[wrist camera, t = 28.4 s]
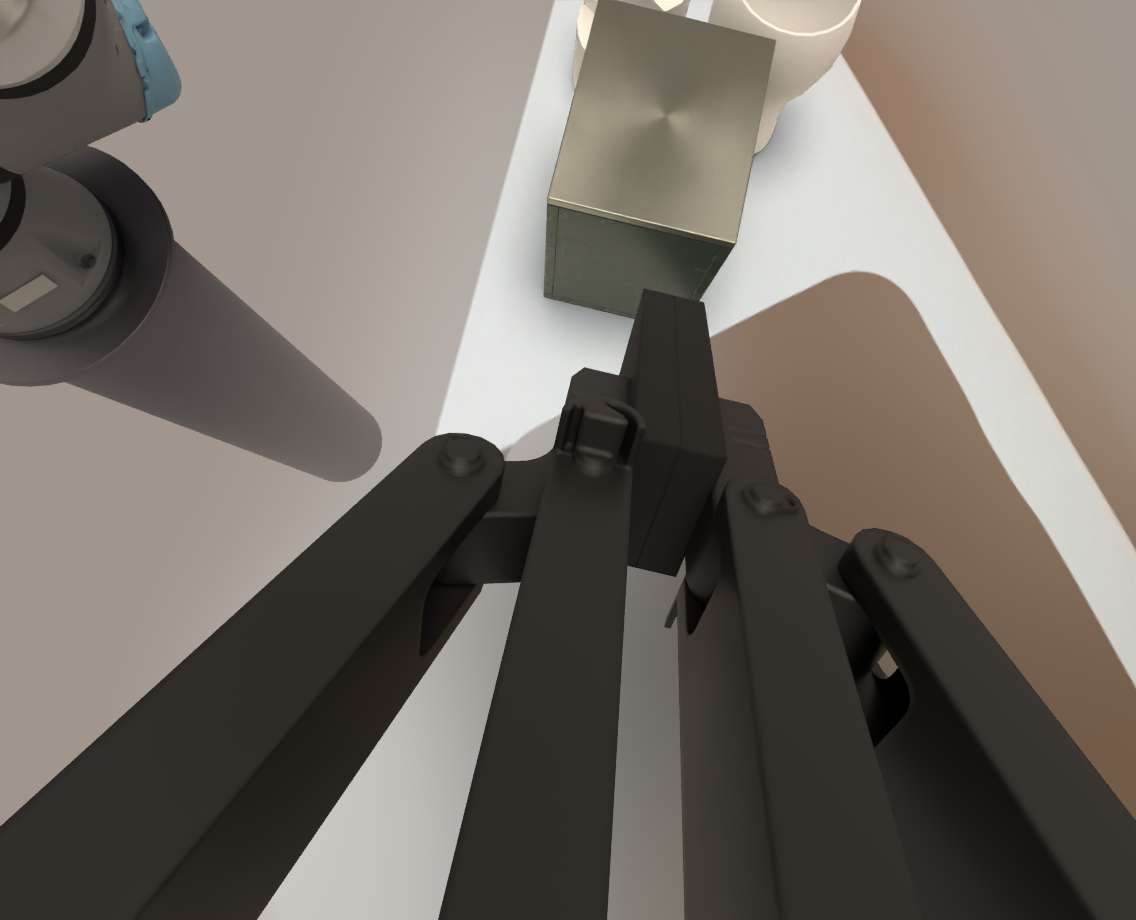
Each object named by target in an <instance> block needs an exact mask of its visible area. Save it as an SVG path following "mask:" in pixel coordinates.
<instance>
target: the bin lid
mask: <svg viewBox="0 0 1136 920" xmlns="http://www.w3.org/2000/svg"><path fill="white" fill-rule="evenodd" d="M775 45H776V40H774V39H770V38H766V37H762V36H758V35H754V34H750V33H746V32H742V31H738V30H734V29H730V28H726V27H722V26H718V25H714V24H710V23H706V22H702V21H698V20H694V19H690V18H686V17H682V16H678V15H674V14H670V13H666V12H662V11H658V10H654V9H650V8H646V7H642V6H638V5H634V4H630V3H626V2H622V1H618V0H598V3H597V7H596V10H595V14H594V18H593V22H592V26H591V30H590V34H589V38H588V42H587V46H586V49H585V53H584V57H583V61H582V65H581V69H580V73H579V77H578V81H577V84H576V88H575V92H574V96H573V100H572V104H571V108H570V112H569V116H568V120H567V123H566V127H565V131H564V135H563V139H562V143H561V147H560V151H559V155H558V159H557V162H556V166H555V170H554V174H553V178H552V182H551V186H550V190H549V194H548V197H547V203H548V204H551V205H555V206H559V207H563V208H568V209H572V210H576V211H580V212H584V213H588V214H592V215H596V216H601V217H605V218H609V219H613V220H617V221H621V222H625V223H629V224H633V225H638V226H642V227H646V228H650V229H654V230H658V231H662V232H666V233H671V234H675V235H679V236H683V237H687V238H691V239H695V240H699V241H704V242H708V243H712V244H716V245H720V246H724V247H728V248H734V246H735V244H736V242H737V237H738V232H739V227H740V222H741V217H742V212H743V206H744V201H745V196H746V191H747V186H748V181H749V176H750V171H751V166H752V161H753V156H754V151H755V146H756V141H757V136H758V131H759V126H760V121H761V116H762V111H763V106H764V101H765V96H766V91H767V86H768V80H769V75H770V70H771V65H772V60H773V55H774V50H775Z"/></svg>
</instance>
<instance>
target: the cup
mask: <svg viewBox="0 0 1136 920" xmlns="http://www.w3.org/2000/svg"><path fill="white" fill-rule="evenodd" d="M860 3H861V0H714V1H713V4H712V7H711V11H710V15H709V19H708V23H710V24H714V25H718V26H722V27H726V28H730V29H734V30H738V31H742V32H746V33H750V34H754V35H758V36H762V37H766V38H770V39H774V40H776V45H775V50H774V55H773V60H772V65H771V70H770V75H769V80H768V86H767V91H766V96H765V101H764V106H763V111H762V116H761V121H760V126H759V131H758V136H757V141H756V146H755V151H754V154H756V153H758V152H760V151H761V150H762V149H763V148H764V147H765V146H766V145H767V143H768V141H769V140H770V138H771V136H772V133H773V131H774V128H775V125H776V122H777V119H778V115H779V112H780V110H781V109H782V108H783V106H784V105H785V104H786V103H787V102H788V101H790V100H792V99H794V98H796V97H798V96H800V95H802V94H803V93H804V92H805V91H806V90H808V89H809V88H810V87H811V86H812V85H813V84H814V83H816V82H817V81H818V80H819V79H820V78H821V77H822V76H823V75H824V74H825V73H826V72H827V71H828V70H829V69H830V68H831V67H832V65H833V63H834V62H835V60H836V59H837V57H838V55H839V54H840V52H841V50H842V49H843V47H844V45H845V44H846V42H847V40H848V38H849V36H850V35H851V31H852V28H853V25H854V22H855V19H856V15H857V12H858V9H859V6H860Z"/></svg>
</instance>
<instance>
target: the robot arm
mask: <svg viewBox="0 0 1136 920" xmlns="http://www.w3.org/2000/svg"><path fill="white" fill-rule="evenodd" d="M180 93H181V81H180V77H179V74H178V72H177V70H176V68H175V66H174V64H173V62H172V60H171V58H170V56H169V55H168V52H167V51H166V49H165V47H164V45H163V43H162V42H161V40H160V38H159V36H158V35H157V33H156V31H155V30H154V28H153V26H152V25H151V24H150V23H149V20H148V17H147V16H146V14H145V12H144V11H143V9H142V7H141V5H140V3H139V1H138V0H0V337H3V338H9V339H18V340H29V339H38V338H44V337H48V336H52V335H56V334H58V333H61V332H64V331H66V330H68V329H70V328H72V327H74V326H76V325H78V324H79V323H81V322H82V321H84V320H85V319H87V318H88V317H89V316H90V315H92V314H93V313H94V312H95V311H96V310H97V309H98V308H99V307H100V306H101V305H102V304H103V302H104V301H105V300H106V299H107V297H108V296H109V294H110V293H111V291H112V289H113V288H114V286H115V284H116V281H117V279H118V277H119V274H120V270H121V266H122V261H123V241H122V236H121V231H120V228H119V226H118V223H117V221H116V219H115V217H114V215H113V214H112V212H111V211H110V209H109V208H108V207H107V206H106V204H105V203H104V202H103V201H102V200H101V199H100V198H98V197H97V196H96V195H95V194H94V193H92V192H91V191H90V190H89V189H88V188H86V187H85V186H84V185H82V184H81V183H79V182H78V181H76V180H74V179H72V178H71V177H69V176H67V175H65V174H63V173H61V172H59V171H56V170H54V169H51V168H47V167H45V166H42V165H45V164H47V163H49V162H51V161H53V160H56V159H58V158H60V157H62V156H64V155H66V154H69V153H71V152H73V151H75V150H77V149H79V148H82V147H84V146H86V145H88V144H90V143H92V142H95V141H97V140H99V139H101V138H103V137H105V136H108V135H110V134H112V133H114V132H116V131H119V130H121V129H123V128H125V127H127V126H129V125H132V124H133V123H136V122H140V123H142V122H146V121H149V120H150V119H151V117H152V115H153V114H154V113H156V112H158V111H159V110H161V109H163V108H165V107H167V106H169V105H171V104H173V103H174V102H175V101H176V100H177V99H178V98H179V96H180ZM684 557H685V561H686V575H685V578H684V580H683V582H682V584H681V587H680V589H679V591H678V593H677V596H676V598H675V600H674V602H673V605H672V607H671V609H670V611H669V614H668V616H667V618H666V622H665V627H666V628H671V626H672V624H673V621H674V619H675V618H676V617H677V624H678V665H679V705H680V706H679V707H680V748H681V789H682V831H683V872H684V911H685V912H684V914H685V920H1136V820H1135V819H1134V818H1133V817H1132V815H1131V814H1130V813H1129V811H1128V810H1127V809H1126V808H1125V806H1124V805H1123V804H1122V802H1121V801H1120V800H1119V799H1118V798H1117V796H1116V795H1115V793H1114V792H1113V791H1112V789H1111V788H1110V787H1109V786H1108V784H1107V783H1106V782H1105V780H1104V779H1103V778H1102V777H1101V775H1100V774H1099V773H1098V771H1097V770H1096V769H1095V768H1094V766H1093V765H1092V764H1091V762H1090V761H1089V760H1088V759H1087V757H1086V756H1085V755H1084V753H1083V752H1082V751H1081V750H1080V748H1079V747H1078V746H1077V744H1076V743H1075V742H1074V741H1073V739H1072V738H1071V737H1070V735H1069V734H1068V733H1067V731H1066V730H1065V729H1064V728H1063V726H1062V725H1061V724H1060V722H1059V721H1058V720H1057V719H1056V717H1055V716H1054V715H1053V713H1052V712H1051V711H1050V710H1049V708H1048V707H1047V706H1046V704H1045V703H1044V702H1043V701H1042V699H1041V698H1040V697H1039V695H1038V694H1037V693H1036V692H1035V690H1034V689H1033V688H1032V686H1031V685H1030V684H1029V683H1028V681H1027V680H1026V679H1025V677H1024V676H1023V675H1022V673H1021V672H1020V671H1019V670H1018V668H1017V667H1016V666H1015V664H1014V663H1013V662H1012V661H1011V659H1010V658H1009V657H1008V655H1007V654H1006V653H1005V652H1004V650H1003V649H1002V648H1001V647H1000V645H999V644H998V643H997V641H996V640H995V639H994V638H993V636H992V635H991V634H990V632H989V631H988V630H987V628H986V627H985V626H984V625H983V623H982V622H981V621H980V620H979V618H978V617H977V616H976V614H975V613H974V612H973V610H972V609H971V608H970V607H969V605H968V604H967V603H966V601H965V600H964V599H963V597H962V596H961V595H960V594H959V592H958V591H957V590H956V588H955V587H954V586H953V585H952V583H951V582H950V581H949V579H948V578H947V577H946V576H945V574H944V573H943V572H942V570H941V569H940V568H939V567H938V565H937V564H936V563H935V561H934V560H933V559H932V558H931V557H930V556H929V555H928V554H927V553H926V552H925V551H924V550H923V549H922V548H920V547H919V546H917V545H916V544H914V543H913V542H911V541H910V540H909V539H908V538H906V537H904V536H902V535H901V536H900V535H899V534H897V533H893V532H891V531H886V530H882V529H877V528H872V529H863V530H861V531H860V532H859V533H857V534H856V535H855V536H854V538H853V540H852V541H851V543H850V544H849V543H847V542H845V541H842V540H840V539H838V538H836V537H833V536H831V535H829V534H827V533H825V532H822V531H820V530H819V529H816V528H815V527H813V526H811V525H809V523H808V519H807V516H806V512H805V509H804V508H803V506H802V504H801V502H800V500H799V499H798V498H797V497H796V496H795V495H794V494H793V493H792V492H791V491H790V490H788V489H787V488H785V487H784V486H782V485H780V484H779V483H778V479H777V475H776V471H775V467H774V463H773V459H772V456H771V451H770V450H769V443H768V439H767V438H766V431H765V428H764V423H763V420H762V419H761V418H760V416H759V415H758V414H757V413H756V412H755V411H754V409H753V408H752V407H751V406H750V405H748V404H744V403H739V402H735V401H731V400H727V399H723V398H719V397H718V390H717V384H716V377H715V370H714V364H713V357H712V351H711V344H710V338H709V331H708V325H707V318H706V312H705V305H704V303H703V302H699V301H695V300H691V299H687V298H683V297H678V296H674V295H670V294H666V293H662V292H658V291H653V290H649V289H645V288H644V289H643V292H642V296H641V299H640V303H639V307H638V310H637V314H636V317H635V321H634V324H633V328H632V331H631V335H630V339H629V342H628V346H627V349H626V353H625V356H624V360H623V363H622V367H621V371H620V374H619V376H618V375H614V374H610V373H606V372H602V371H597V370H593V369H589V368H585V367H584V368H583V369H582V370H580V371H579V372H578V373H576V374H575V375H574V376H572V378H571V382H570V386H569V390H568V394H567V398H566V403H565V405H564V407H563V409H562V413H561V418H560V422H559V426H558V431H557V435H556V440H555V444H554V447H553V449H552V450H551V451H550V452H548V453H547V454H546V455H544V456H542V457H539V458H537V459H533V460H528V461H504V457H503V454H502V453H501V452H500V450H499V449H498V448H497V447H496V446H495V445H494V444H492V443H490V442H489V441H487V440H485V439H483V438H481V437H477V436H473V435H470V434H464V433H448V434H443V435H438V436H434V437H433V438H431V439H429V440H427V441H426V442H424V443H423V444H422V445H421V446H420V447H418V448H417V449H416V450H415V451H414V452H413V453H412V454H411V455H409V456H408V457H407V458H406V459H405V460H404V461H403V462H402V463H401V464H400V465H398V466H397V467H396V468H395V469H394V470H393V471H392V472H391V473H390V474H388V476H386V477H385V478H384V479H383V480H382V481H381V482H380V483H379V484H378V485H376V486H375V487H374V488H373V489H372V490H371V491H370V492H369V493H368V494H366V496H364V497H363V498H362V499H361V500H360V501H359V502H358V503H357V504H355V505H354V506H353V507H352V508H351V509H350V510H349V511H348V512H347V513H346V514H344V515H343V516H342V517H341V518H340V519H339V520H338V521H337V522H336V523H334V524H333V525H332V526H331V527H330V528H329V529H328V530H327V531H326V532H325V533H323V535H321V536H320V537H319V538H318V539H317V540H316V541H315V542H314V543H312V544H311V545H310V546H309V547H308V548H307V549H306V550H305V551H304V552H302V553H301V554H300V555H299V556H298V557H297V558H296V559H295V560H294V561H293V562H292V563H290V564H289V565H288V566H287V567H286V568H285V569H284V570H283V571H282V572H280V573H279V574H278V575H277V576H276V577H275V578H274V579H273V580H272V581H270V582H269V583H268V584H267V585H266V586H265V587H264V588H263V589H262V590H261V591H259V592H258V593H257V594H256V595H255V596H254V597H253V598H252V599H251V600H250V601H249V602H247V603H246V604H245V605H244V606H243V607H242V608H241V609H240V610H238V611H237V612H236V613H235V614H234V615H233V616H232V617H231V618H230V619H229V620H227V621H226V622H225V623H224V624H223V625H222V626H221V627H220V628H219V629H218V630H216V631H215V632H214V633H213V634H212V635H211V636H210V637H209V638H208V639H207V640H205V641H204V642H203V643H202V644H201V645H200V646H199V647H198V648H197V649H196V650H194V651H193V652H192V653H191V654H190V655H189V656H188V657H187V658H186V659H184V660H183V661H182V662H181V663H180V664H179V665H178V666H177V667H176V668H175V669H173V670H172V671H171V672H170V673H169V674H168V675H167V676H166V677H165V678H164V679H162V680H161V681H160V682H159V683H158V684H157V685H156V686H155V687H154V688H153V689H151V690H150V691H149V692H148V693H147V694H146V695H145V696H144V697H143V698H141V700H139V701H138V702H137V703H136V704H135V705H134V706H133V707H132V708H131V709H129V710H128V711H127V712H126V713H125V714H124V715H123V716H122V717H121V718H119V719H118V720H117V721H116V722H115V723H114V724H113V725H112V726H111V727H109V728H108V729H107V730H106V731H105V732H104V733H103V734H102V735H101V736H100V737H98V738H97V739H96V740H95V741H94V742H93V743H92V744H91V745H90V746H89V747H87V748H86V749H85V750H84V751H83V752H82V753H81V754H80V755H79V756H78V757H76V758H75V759H74V760H73V761H72V762H71V763H70V764H69V765H68V766H66V767H65V768H64V769H63V770H62V771H61V772H60V773H59V774H58V775H57V776H55V777H54V778H53V779H52V780H51V781H50V782H49V783H48V784H47V785H46V786H44V787H43V788H42V789H41V790H40V791H39V792H38V793H37V794H36V795H35V796H33V797H32V798H31V799H30V800H29V801H28V802H27V803H26V804H25V805H23V807H21V808H20V809H19V810H18V811H17V812H16V813H15V814H14V815H13V816H12V817H10V818H9V819H8V820H7V821H6V822H5V823H4V824H3V825H1V826H0V920H257V919H258V917H259V916H260V914H261V913H262V911H263V910H264V908H265V907H266V905H267V904H268V902H269V901H270V900H271V898H272V896H273V895H274V894H275V892H276V891H277V889H278V888H279V886H280V885H281V884H282V882H283V881H284V879H285V878H286V876H287V875H288V873H289V872H290V870H291V869H292V867H293V866H294V864H295V863H296V862H297V860H298V859H299V857H300V856H301V854H302V853H303V851H304V850H305V848H306V847H307V845H308V844H309V842H310V841H311V840H312V838H313V837H314V835H315V834H316V832H317V831H318V829H319V828H320V826H321V825H322V823H323V822H324V821H325V819H326V818H327V816H328V815H329V813H330V812H331V810H332V809H333V807H334V806H335V804H336V803H337V802H338V800H339V799H340V797H341V796H342V794H343V793H344V791H345V790H346V788H347V787H348V785H349V784H350V782H351V781H352V780H353V778H354V777H355V775H356V774H357V772H358V771H359V769H360V768H361V766H362V765H363V763H364V762H365V761H366V759H367V758H368V756H369V755H370V753H371V752H372V750H373V749H374V747H375V746H376V744H377V743H378V741H379V740H380V739H381V737H382V736H383V734H384V733H385V731H386V730H387V728H388V727H389V725H390V724H391V722H392V721H393V720H394V718H395V716H396V715H397V714H398V712H399V711H400V709H401V708H402V706H403V705H404V703H405V702H406V700H407V699H408V698H409V696H410V695H411V693H412V692H413V690H414V689H415V687H416V686H417V684H418V683H419V681H420V680H421V679H422V677H423V675H424V674H425V673H426V671H427V670H428V668H429V667H430V665H431V664H432V662H433V661H434V659H435V658H436V657H437V655H438V654H439V652H440V651H441V649H442V648H443V646H444V645H445V643H446V642H447V640H448V639H449V638H450V636H451V635H452V633H453V632H454V630H455V628H456V627H457V626H458V624H459V623H460V621H461V620H462V618H463V617H464V616H465V614H466V613H467V611H468V610H469V608H470V607H471V605H472V604H473V602H474V601H475V599H476V598H477V596H478V595H479V594H480V592H481V590H482V587H483V584H486V583H487V584H488V583H514V582H521V583H520V588H519V591H518V596H517V600H516V604H515V608H514V612H513V616H512V620H511V624H510V628H509V633H508V636H507V640H506V645H505V649H504V653H503V657H502V661H501V665H500V669H499V673H498V677H497V681H496V686H495V690H494V694H493V698H492V702H491V706H490V710H489V714H488V718H487V722H486V726H485V731H484V734H483V739H482V743H481V747H480V751H479V755H478V759H477V764H476V767H475V771H474V775H473V779H472V783H471V788H470V792H469V796H468V800H467V804H466V808H465V812H464V816H463V820H462V824H461V828H460V833H459V837H458V841H457V845H456V849H455V853H454V857H453V861H452V865H451V869H450V873H449V877H448V881H447V886H446V890H445V894H444V898H443V902H442V906H441V910H440V914H439V918H438V920H607V911H608V910H607V909H608V893H609V876H610V875H609V874H610V858H611V841H612V824H613V806H614V789H615V788H614V787H615V771H616V754H617V753H616V752H617V736H618V719H619V701H620V684H621V683H620V682H621V666H622V649H623V632H624V614H625V596H626V580H627V566H631V567H635V568H640V569H644V570H648V571H652V572H657V573H661V574H665V575H670V576H674V577H676V575H677V573H678V571H679V569H680V566H681V564H682V562H683V559H684ZM887 650H888V652H889V653H890V655H891V657H892V658H893V660H894V661H895V663H896V665H897V666H898V669H897V670H896V671H895V672H894V673H893V674H892V675H891V676H890V677H888V676H886V674H885V673H884V672H883V671H882V669H881V668H880V666H879V664H878V661H879V660H880V658H881V657H882V656H883V655H884V653H885V652H886V651H887Z"/></svg>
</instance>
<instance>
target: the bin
mask: <svg viewBox="0 0 1136 920" xmlns="http://www.w3.org/2000/svg"><path fill="white" fill-rule="evenodd" d="M732 249H733V248H728V247H724V246H720V245H716V244H712V243H708V242H704V241H699V240H695V239H691V238H687V237H683V236H679V235H675V234H671V233H666V232H662V231H658V230H654V229H650V228H646V227H642V226H638V225H633V224H629V223H625V222H621V221H617V220H613V219H609V218H605V217H601V216H596V215H592V214H588V213H584V212H580V211H576V210H572V209H568V208H563V207H559V206H555V205H551V204H548V203H547V223H546V250H545V276H544V297H547V298H551V299H555V300H559V301H564V302H568V303H572V304H576V305H580V306H584V307H589V308H593V309H597V310H601V311H605V312H609V313H614V314H618V315H622V316H626V317H630V318H634V319H635V317H636V314H637V310H638V307H639V303H640V299H641V296H642V292H643V289H644V288H645V289H649V290H653V291H658V292H662V293H666V294H670V295H674V296H678V297H683V298H687V299H691V300H695V301H699V300H700V299H701V297H702V296H703V294H704V293H705V291H706V290H707V288H708V286H709V285H710V283H711V282H712V280H713V279H714V277H715V276H716V274H717V272H718V271H719V269H720V268H721V266H722V265H723V263H724V262H725V260H726V258H727V257H728V255H729V254H730V252H731V251H732Z"/></svg>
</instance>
